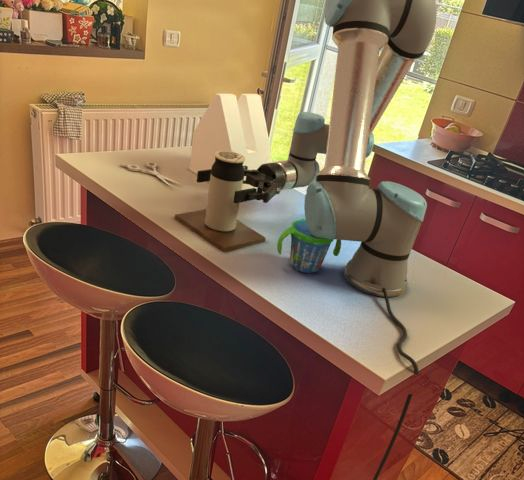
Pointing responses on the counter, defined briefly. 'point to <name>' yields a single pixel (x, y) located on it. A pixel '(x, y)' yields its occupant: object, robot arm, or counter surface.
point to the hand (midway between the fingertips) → (216, 186)
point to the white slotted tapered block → (232, 132)
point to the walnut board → (220, 232)
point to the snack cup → (306, 247)
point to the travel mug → (224, 190)
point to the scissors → (154, 172)
